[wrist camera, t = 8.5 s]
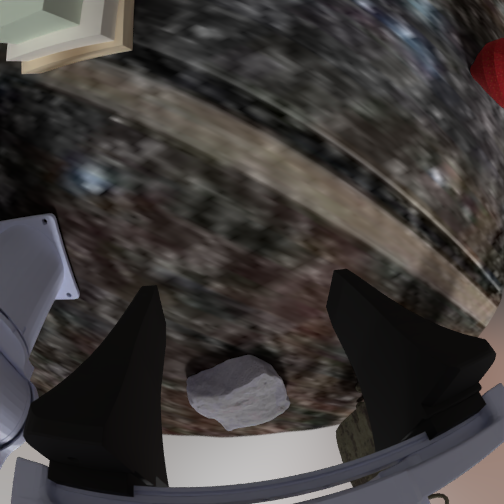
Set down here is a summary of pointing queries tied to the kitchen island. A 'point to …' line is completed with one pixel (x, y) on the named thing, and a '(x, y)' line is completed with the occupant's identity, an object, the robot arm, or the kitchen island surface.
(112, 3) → the cream top block
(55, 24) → the sage cube
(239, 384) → the stone block
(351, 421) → the tabletop clock
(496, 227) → the kitchen island surface
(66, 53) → the maple base block
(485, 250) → the kitchen island surface
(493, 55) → the strawberry
